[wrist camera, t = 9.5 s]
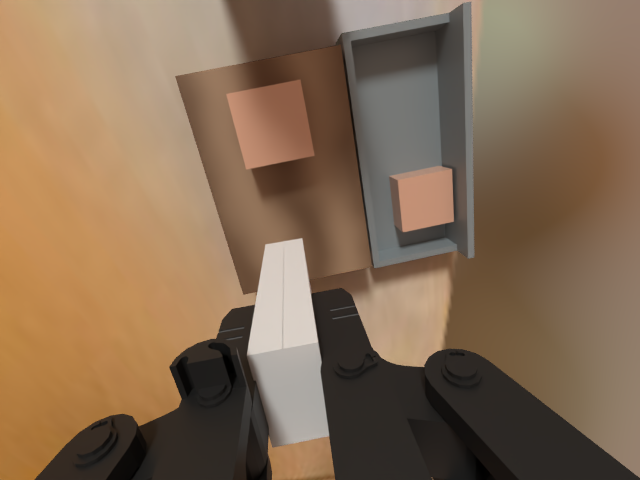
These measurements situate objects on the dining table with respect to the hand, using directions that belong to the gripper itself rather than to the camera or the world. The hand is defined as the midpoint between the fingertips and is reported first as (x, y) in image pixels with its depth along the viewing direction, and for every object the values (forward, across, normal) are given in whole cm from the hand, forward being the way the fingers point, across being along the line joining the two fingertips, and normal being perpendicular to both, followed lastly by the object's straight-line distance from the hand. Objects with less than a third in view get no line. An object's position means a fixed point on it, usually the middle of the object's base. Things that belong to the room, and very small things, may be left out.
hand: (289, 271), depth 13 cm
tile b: (+14, 0, +6) cm, 15 cm away
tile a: (+15, +12, -3) cm, 20 cm away
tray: (+18, +11, +2) cm, 22 cm away
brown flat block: (+18, 0, +1) cm, 18 cm away
